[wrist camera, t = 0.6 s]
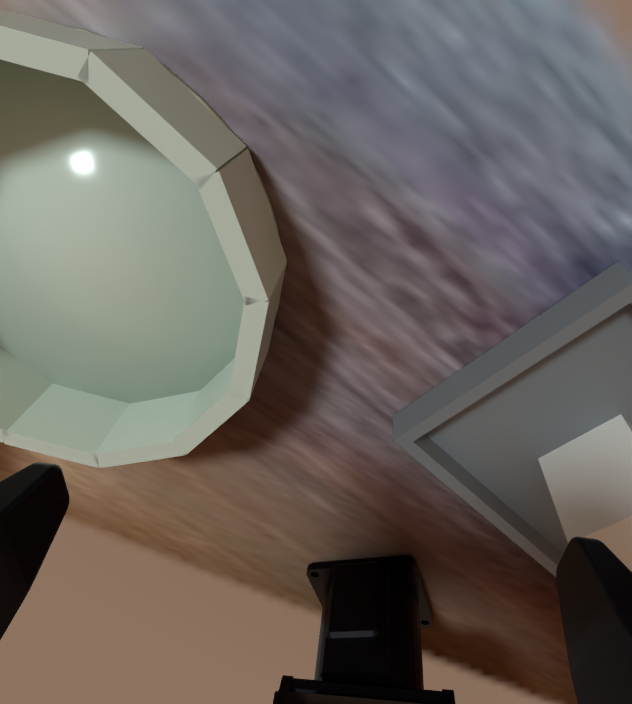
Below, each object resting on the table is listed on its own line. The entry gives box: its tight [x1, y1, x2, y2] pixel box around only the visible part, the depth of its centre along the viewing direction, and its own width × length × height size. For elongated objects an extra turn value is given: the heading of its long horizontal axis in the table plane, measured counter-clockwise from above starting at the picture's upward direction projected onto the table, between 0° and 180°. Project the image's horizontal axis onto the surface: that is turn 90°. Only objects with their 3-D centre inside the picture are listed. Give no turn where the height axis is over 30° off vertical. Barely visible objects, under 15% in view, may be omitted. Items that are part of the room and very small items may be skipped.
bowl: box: [0, 12, 287, 468], centre depth 19 cm, size 16×16×4 cm
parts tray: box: [393, 261, 632, 577], centre depth 22 cm, size 16×11×2 cm
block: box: [538, 414, 632, 572], centre depth 21 cm, size 4×4×5 cm
